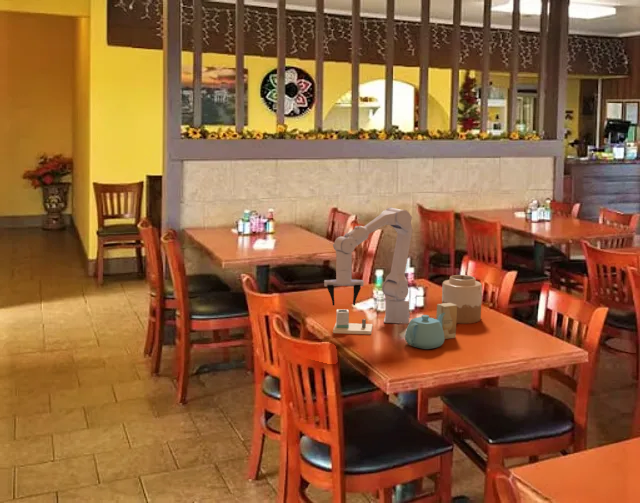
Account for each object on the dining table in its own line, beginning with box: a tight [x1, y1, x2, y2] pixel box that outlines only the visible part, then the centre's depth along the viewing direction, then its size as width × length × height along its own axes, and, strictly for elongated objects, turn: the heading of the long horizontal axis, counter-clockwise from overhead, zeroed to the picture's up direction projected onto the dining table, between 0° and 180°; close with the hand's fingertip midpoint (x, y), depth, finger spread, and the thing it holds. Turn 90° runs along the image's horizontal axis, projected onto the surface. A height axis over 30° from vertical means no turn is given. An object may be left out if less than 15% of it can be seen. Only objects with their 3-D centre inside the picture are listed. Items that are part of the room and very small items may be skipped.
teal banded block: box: [335, 308, 350, 328], centre depth 278 cm, size 4×4×6 cm
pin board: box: [332, 318, 374, 335], centre depth 278 cm, size 14×10×4 cm
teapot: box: [404, 313, 446, 350], centre depth 259 cm, size 13×11×18 cm
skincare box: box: [435, 303, 457, 340], centre depth 268 cm, size 6×4×12 cm
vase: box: [441, 274, 483, 325], centre depth 293 cm, size 15×15×17 cm
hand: (343, 304), depth 278 cm, fingers open, 7 cm apart
